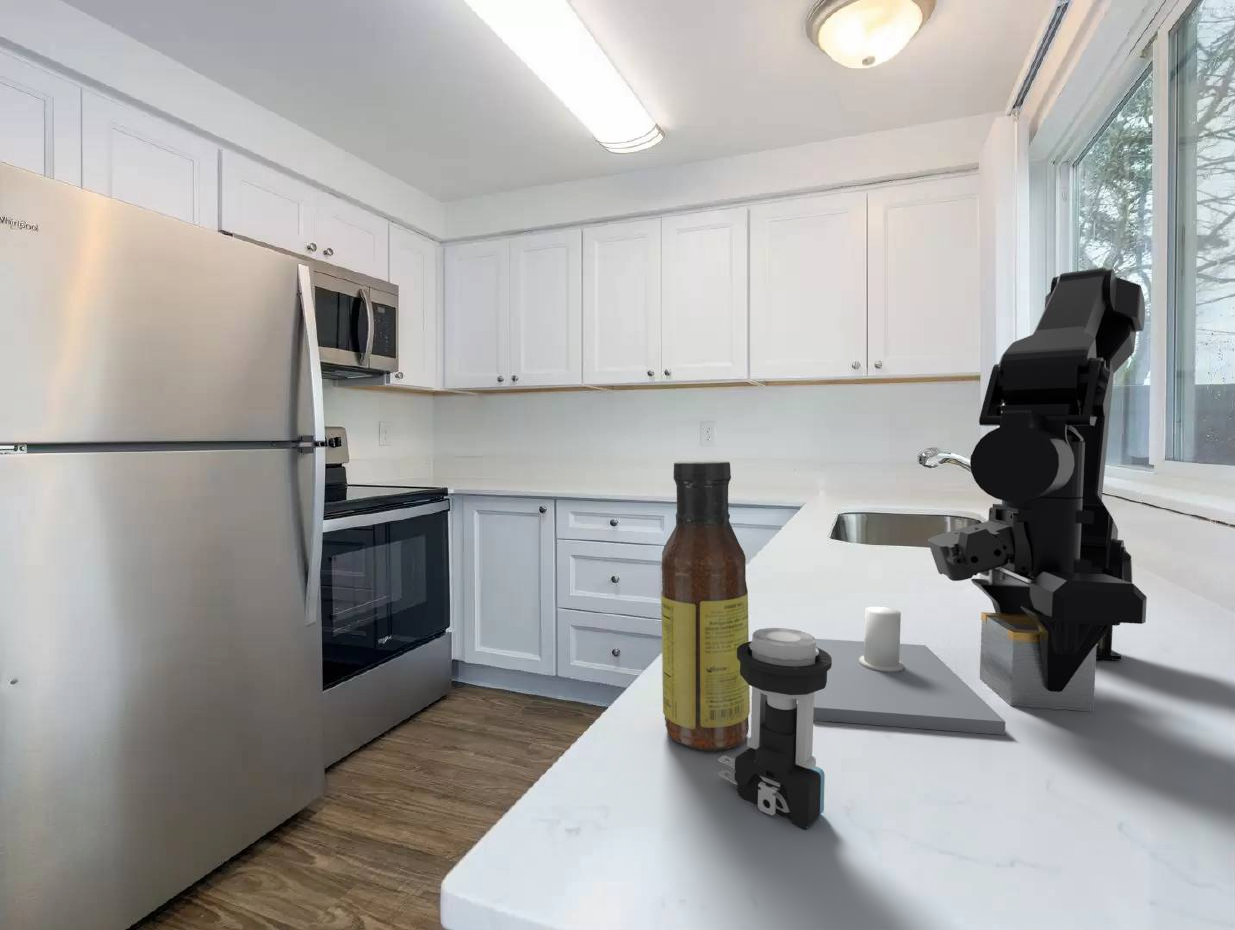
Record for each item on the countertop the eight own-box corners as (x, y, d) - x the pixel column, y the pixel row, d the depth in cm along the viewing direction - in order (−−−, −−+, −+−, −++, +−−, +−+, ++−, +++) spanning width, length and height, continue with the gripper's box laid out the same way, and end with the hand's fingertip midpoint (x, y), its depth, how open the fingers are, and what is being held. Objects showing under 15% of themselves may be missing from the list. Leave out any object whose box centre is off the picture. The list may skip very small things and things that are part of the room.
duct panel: (924, 654, 65) (927, 596, 65) (1004, 735, 47) (1008, 654, 47) (783, 646, 67) (784, 589, 67) (808, 719, 49) (810, 642, 49)
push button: (696, 797, 38) (700, 631, 38) (742, 765, 42) (746, 614, 42) (801, 845, 34) (806, 658, 33) (842, 804, 38) (847, 636, 37)
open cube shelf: (1053, 682, 58) (1056, 616, 58) (1094, 711, 52) (1097, 637, 51) (978, 677, 59) (981, 612, 59) (1010, 705, 53) (1013, 632, 52)
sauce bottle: (754, 723, 48) (760, 460, 48) (742, 762, 42) (749, 463, 42) (669, 710, 50) (675, 458, 50) (647, 745, 45) (652, 460, 44)
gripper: (908, 485, 65) (903, 637, 66) (985, 502, 47) (977, 714, 47) (1027, 488, 63) (1020, 644, 64) (1156, 507, 45) (1145, 726, 45)
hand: (1033, 676), depth 55 cm, fingers closed on open cube shelf, 6 cm apart
